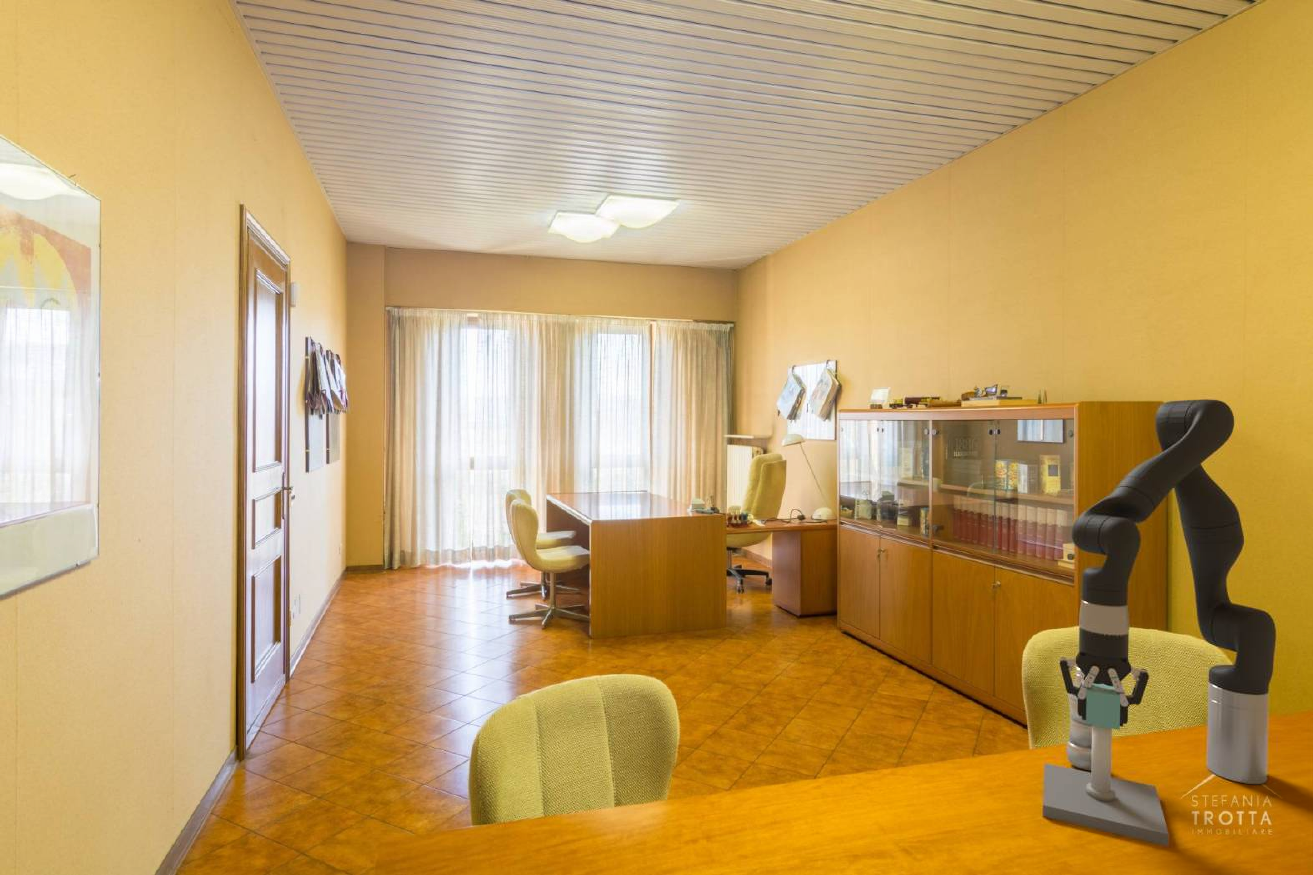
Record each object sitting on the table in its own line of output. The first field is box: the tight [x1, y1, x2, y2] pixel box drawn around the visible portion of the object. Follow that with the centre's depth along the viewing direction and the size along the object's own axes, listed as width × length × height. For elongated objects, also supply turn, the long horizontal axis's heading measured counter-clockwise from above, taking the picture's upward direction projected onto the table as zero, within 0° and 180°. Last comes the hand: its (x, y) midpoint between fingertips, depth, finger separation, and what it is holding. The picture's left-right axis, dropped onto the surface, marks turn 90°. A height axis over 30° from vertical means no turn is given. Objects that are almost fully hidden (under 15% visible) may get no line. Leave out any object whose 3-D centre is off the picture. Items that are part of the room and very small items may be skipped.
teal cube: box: [1086, 684, 1121, 731], centre depth 129 cm, size 5×5×6 cm
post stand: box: [1042, 725, 1170, 847], centre depth 129 cm, size 18×18×18 cm
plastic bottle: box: [1065, 665, 1092, 771], centre depth 144 cm, size 6×7×20 cm
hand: (1101, 721), depth 129 cm, fingers closed on teal cube, 5 cm apart
